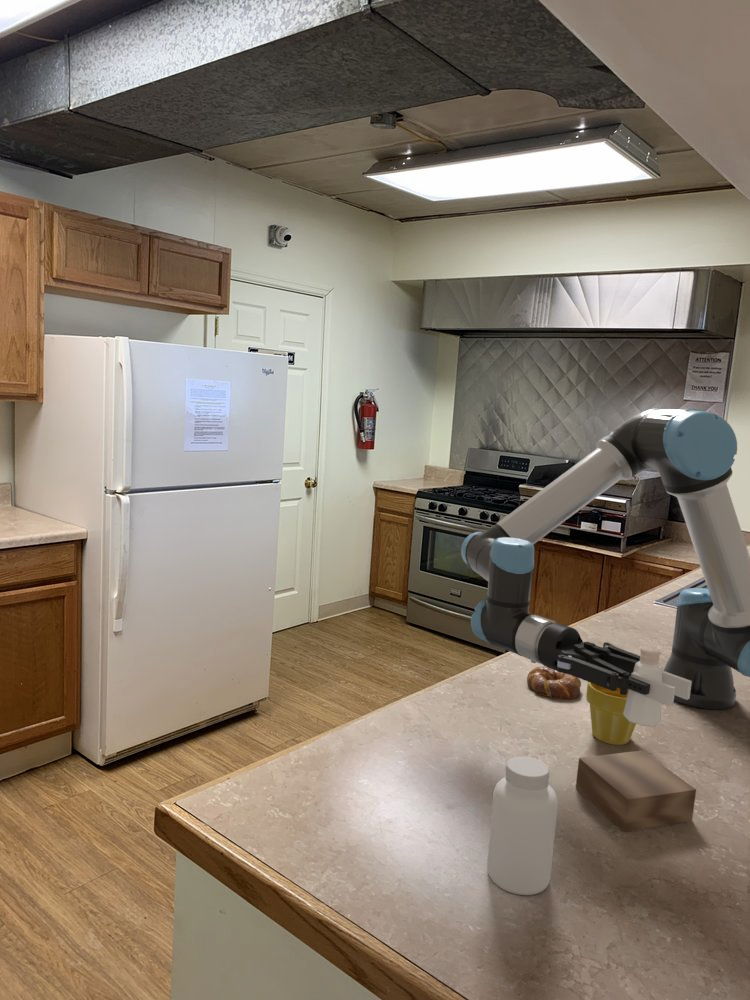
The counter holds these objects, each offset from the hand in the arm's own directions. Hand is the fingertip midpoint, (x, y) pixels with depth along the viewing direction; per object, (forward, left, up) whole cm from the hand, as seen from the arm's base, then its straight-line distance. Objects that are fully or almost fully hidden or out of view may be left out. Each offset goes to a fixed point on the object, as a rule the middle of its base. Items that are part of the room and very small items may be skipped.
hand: (680, 693), depth 105 cm
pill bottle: (+28, +6, -20) cm, 35 cm away
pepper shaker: (+2, -5, -6) cm, 8 cm away
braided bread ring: (-10, -47, -20) cm, 52 cm away
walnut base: (+2, -5, -20) cm, 20 cm away
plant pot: (-9, -25, -20) cm, 33 cm away
